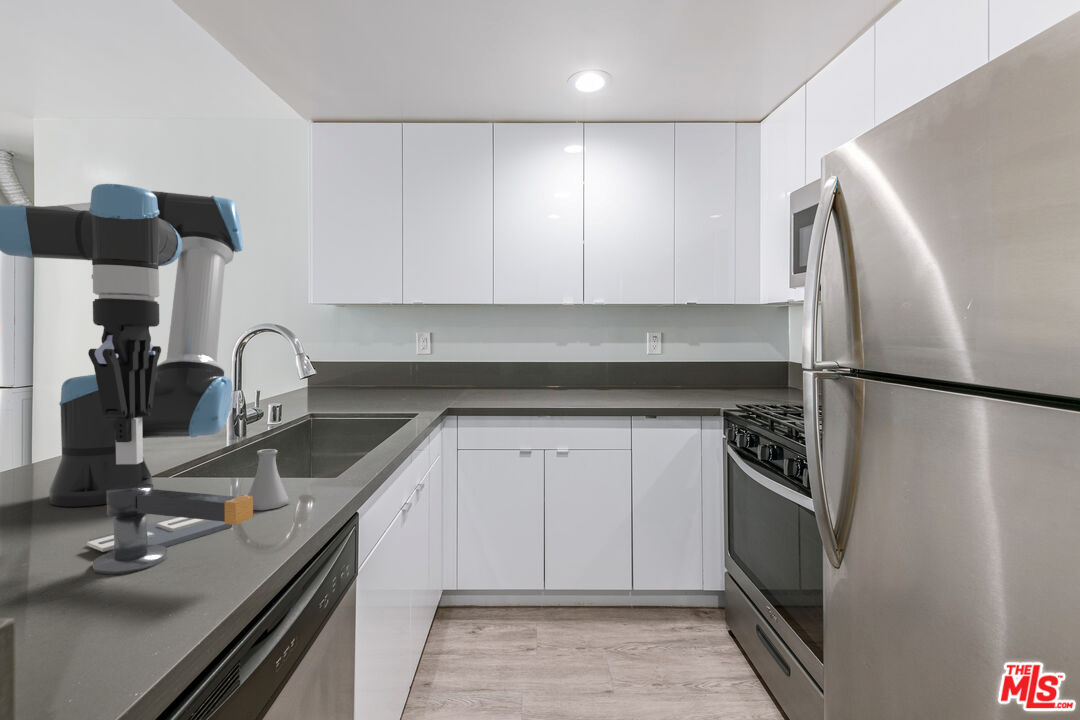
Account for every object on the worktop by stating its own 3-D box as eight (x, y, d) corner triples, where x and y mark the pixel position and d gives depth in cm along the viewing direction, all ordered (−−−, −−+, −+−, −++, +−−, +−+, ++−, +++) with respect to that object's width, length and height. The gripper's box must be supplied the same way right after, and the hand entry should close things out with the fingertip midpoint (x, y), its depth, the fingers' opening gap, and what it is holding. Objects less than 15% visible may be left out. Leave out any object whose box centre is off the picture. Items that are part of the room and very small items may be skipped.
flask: (259, 514, 94) (259, 456, 93) (236, 506, 98) (236, 451, 97) (297, 503, 100) (297, 449, 99) (274, 497, 104) (274, 445, 103)
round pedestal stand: (80, 566, 72) (80, 517, 71) (148, 546, 79) (147, 501, 78) (111, 579, 68) (111, 528, 68) (179, 557, 75) (179, 511, 75)
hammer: (96, 514, 71) (96, 492, 71) (132, 503, 76) (132, 482, 76) (229, 528, 67) (229, 504, 67) (258, 515, 72) (258, 493, 72)
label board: (79, 547, 78) (79, 538, 78) (196, 516, 92) (196, 507, 92) (115, 562, 73) (115, 552, 73) (232, 526, 87) (232, 518, 87)
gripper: (126, 300, 83) (128, 453, 84) (63, 294, 70) (68, 475, 71) (179, 301, 84) (181, 452, 85) (127, 296, 71) (130, 474, 72)
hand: (129, 462), depth 78 cm, fingers closed
